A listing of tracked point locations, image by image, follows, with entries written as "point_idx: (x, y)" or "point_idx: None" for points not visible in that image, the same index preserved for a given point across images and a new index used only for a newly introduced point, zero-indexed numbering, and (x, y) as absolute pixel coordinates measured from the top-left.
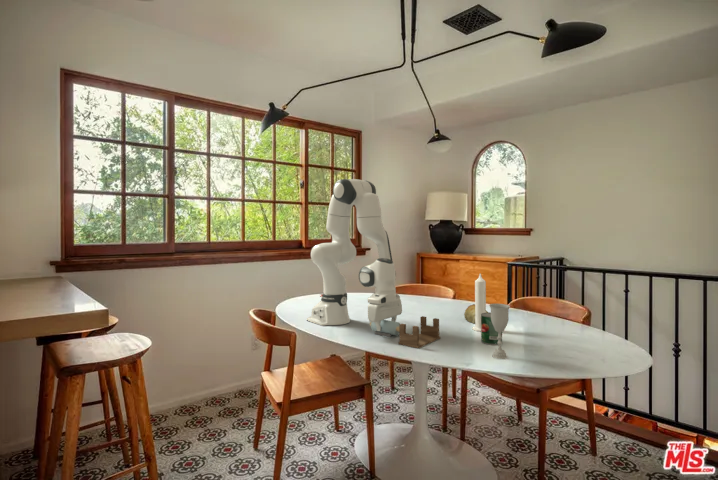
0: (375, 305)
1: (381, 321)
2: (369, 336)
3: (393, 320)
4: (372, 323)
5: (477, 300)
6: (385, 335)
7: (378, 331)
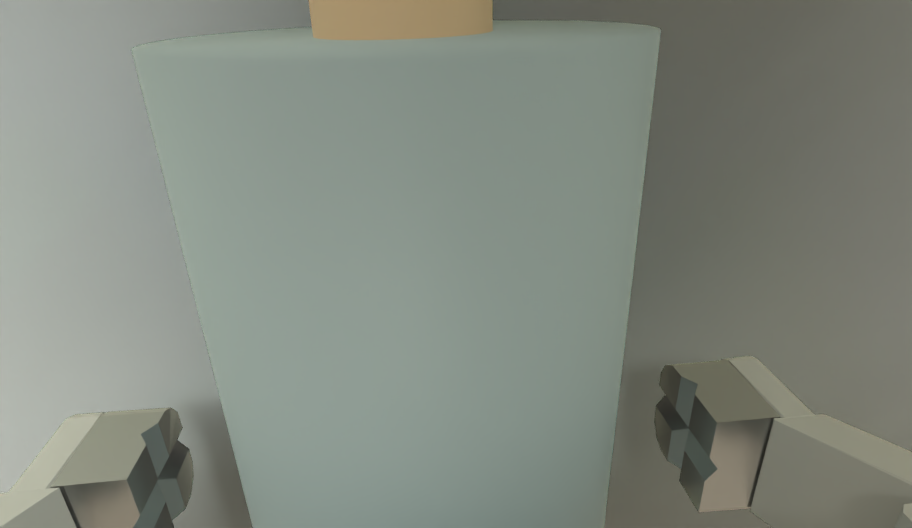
0: None
1: (305, 522)
2: (17, 181)
3: (813, 511)
4: (150, 122)
5: None
6: None
7: None
